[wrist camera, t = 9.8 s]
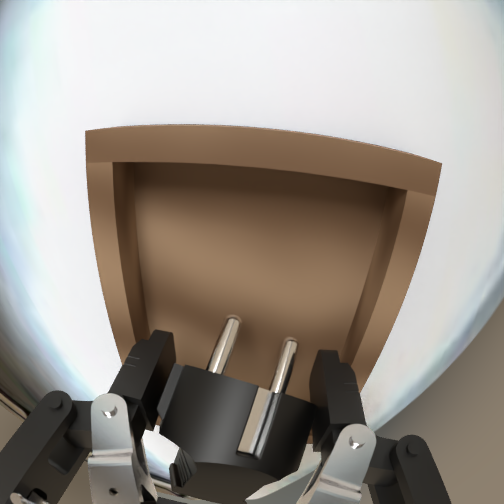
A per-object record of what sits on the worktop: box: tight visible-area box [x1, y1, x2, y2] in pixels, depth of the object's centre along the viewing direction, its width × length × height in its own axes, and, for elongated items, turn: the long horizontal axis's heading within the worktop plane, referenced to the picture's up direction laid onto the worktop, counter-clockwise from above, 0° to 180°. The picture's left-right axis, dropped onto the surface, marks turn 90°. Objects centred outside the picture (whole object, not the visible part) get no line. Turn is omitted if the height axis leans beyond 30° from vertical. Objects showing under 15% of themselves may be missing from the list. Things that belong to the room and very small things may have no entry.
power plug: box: [156, 314, 317, 504], centre depth 12 cm, size 6×8×12 cm
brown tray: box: [85, 124, 442, 444], centre depth 13 cm, size 17×12×2 cm
